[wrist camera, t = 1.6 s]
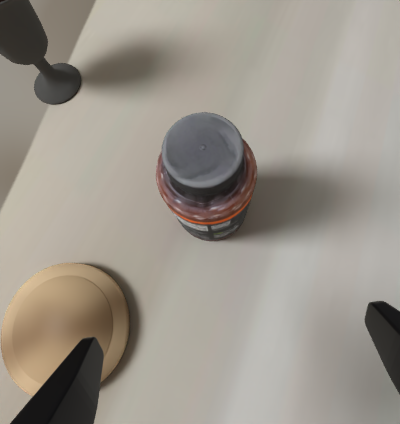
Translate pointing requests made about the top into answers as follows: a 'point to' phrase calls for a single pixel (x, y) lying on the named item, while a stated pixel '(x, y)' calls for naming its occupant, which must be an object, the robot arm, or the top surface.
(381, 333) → the robot arm
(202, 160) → the supplement bottle
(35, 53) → the sundae
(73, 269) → the plate
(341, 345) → the top surface
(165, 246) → the top surface
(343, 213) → the top surface
